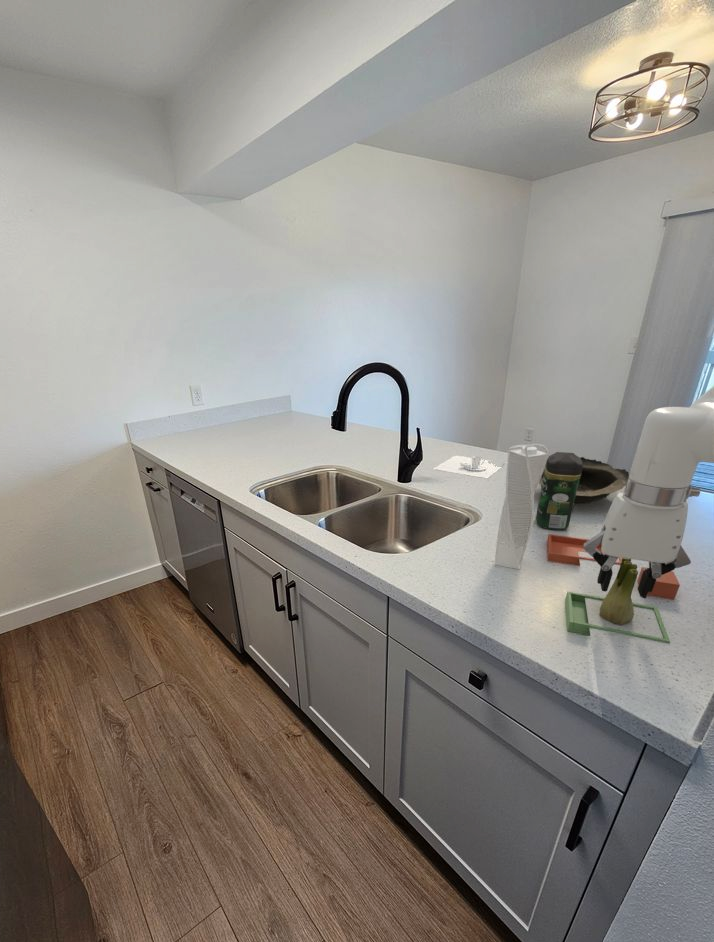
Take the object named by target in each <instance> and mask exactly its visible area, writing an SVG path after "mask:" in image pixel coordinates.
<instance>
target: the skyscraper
mask: <svg viewBox="0 0 714 942" xmlns="http://www.w3.org/2000/svg"><path fill="white" fill-rule="evenodd" d="M538 447H539V448H542V449H544V451H541V450H538ZM516 448H517V449H516ZM549 456H550V451H549V450H548V448H547V446H546V445H544V444H542V443H529V444H517V445H512V446H510V447H509V448H508V451H507V460H506V461H507V462H506V474H505V475H506V476H505V498H504V501H503V505H502V508H501V509H502V510H501V514H500V518H499V524H498V531H497V537H496V538H497V539H496V545H495V555H494V566H500V567H505V568H510V569H516V570H519V571H520V570H521V567H520V566H521V562H522V560H523V557H524V555H525V552H526V549H527V545H528V542H529V539H530V535H531V531H532V526H533V521H534V513H535V493H536V491H537V488H538V486H539V485H540V484H539V481H540V479H541V476H542V473H543V470H544V468H545V465H546V462H547V459H548V457H549Z"/></svg>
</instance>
